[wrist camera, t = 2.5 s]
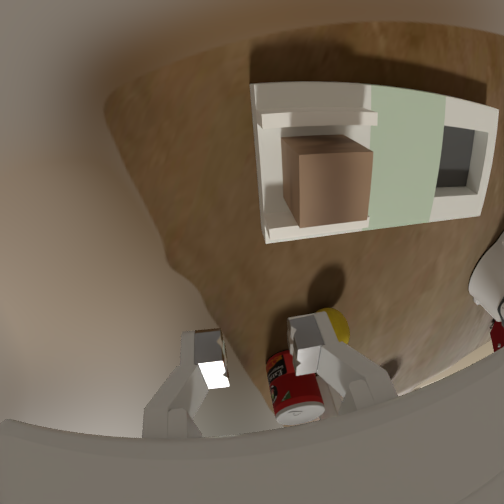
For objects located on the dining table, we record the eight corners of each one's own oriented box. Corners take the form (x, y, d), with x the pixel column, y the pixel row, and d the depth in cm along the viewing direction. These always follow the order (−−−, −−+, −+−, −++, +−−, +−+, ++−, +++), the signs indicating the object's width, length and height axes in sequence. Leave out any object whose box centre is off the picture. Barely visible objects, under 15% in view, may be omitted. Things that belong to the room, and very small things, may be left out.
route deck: (483, 104, 26) (514, 115, 21) (467, 206, 35) (492, 226, 30) (249, 83, 24) (259, 85, 19) (261, 229, 33) (270, 260, 28)
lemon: (303, 300, 41) (319, 344, 34) (340, 293, 41) (360, 334, 34) (302, 326, 44) (316, 368, 37) (336, 318, 44) (353, 359, 37)
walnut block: (342, 134, 25) (373, 151, 20) (340, 191, 28) (367, 220, 23) (280, 137, 25) (298, 155, 20) (283, 197, 28) (299, 228, 23)
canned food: (272, 347, 46) (285, 406, 37) (316, 348, 48) (334, 403, 39) (259, 372, 50) (269, 426, 41) (300, 373, 52) (313, 423, 43)
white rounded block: (339, 388, 58) (355, 434, 48) (321, 395, 59) (336, 442, 49) (325, 371, 53) (343, 425, 43) (306, 379, 54) (321, 434, 44)
